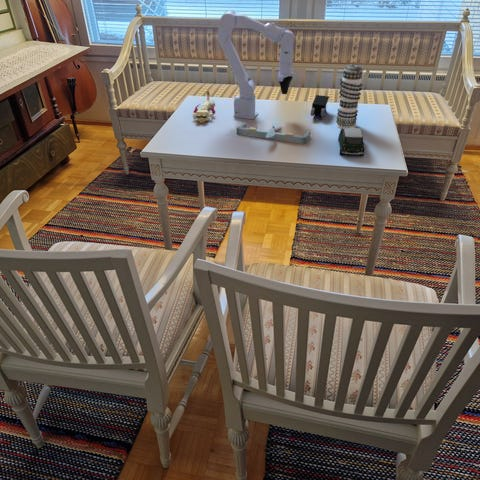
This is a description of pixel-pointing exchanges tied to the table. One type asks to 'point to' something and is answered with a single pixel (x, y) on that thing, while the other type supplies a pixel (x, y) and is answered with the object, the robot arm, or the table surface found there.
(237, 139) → the table surface
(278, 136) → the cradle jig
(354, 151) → the miniature car
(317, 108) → the figurine character
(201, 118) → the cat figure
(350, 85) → the model tower building
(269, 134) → the propeller
